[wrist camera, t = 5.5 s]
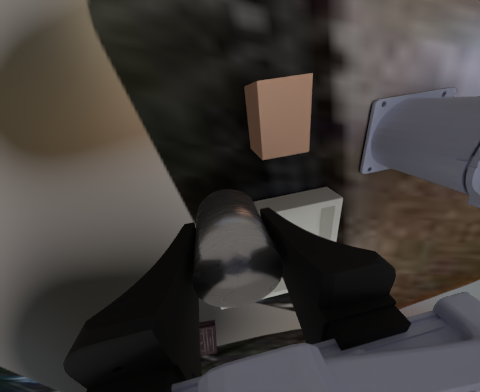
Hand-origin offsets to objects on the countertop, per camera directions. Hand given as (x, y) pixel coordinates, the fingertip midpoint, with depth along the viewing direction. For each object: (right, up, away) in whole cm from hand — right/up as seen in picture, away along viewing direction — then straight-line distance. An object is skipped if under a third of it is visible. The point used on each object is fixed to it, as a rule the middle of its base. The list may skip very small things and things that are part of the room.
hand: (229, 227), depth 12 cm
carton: (+3, +10, +5) cm, 12 cm away
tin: (0, +1, +1) cm, 1 cm away
